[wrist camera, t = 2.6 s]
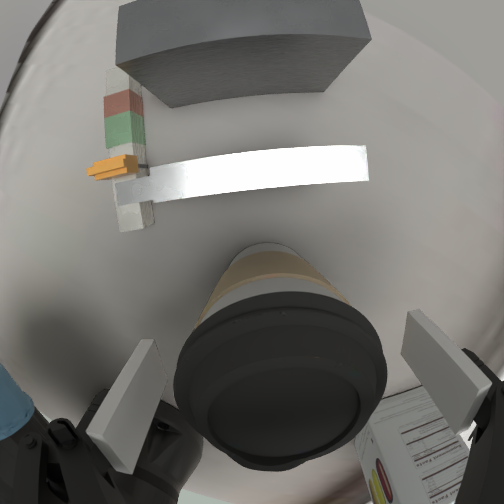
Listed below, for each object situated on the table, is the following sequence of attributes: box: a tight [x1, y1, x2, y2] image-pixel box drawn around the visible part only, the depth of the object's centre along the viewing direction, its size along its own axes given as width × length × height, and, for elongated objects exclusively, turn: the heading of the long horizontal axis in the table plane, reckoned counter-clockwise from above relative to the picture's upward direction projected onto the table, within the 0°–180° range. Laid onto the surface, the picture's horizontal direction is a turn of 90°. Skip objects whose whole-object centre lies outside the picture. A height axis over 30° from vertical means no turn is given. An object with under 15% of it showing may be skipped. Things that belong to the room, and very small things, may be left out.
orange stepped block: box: [86, 154, 139, 180], centre depth 16 cm, size 3×1×3 cm, turn 96°
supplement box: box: [355, 386, 470, 504], centre depth 20 cm, size 10×9×17 cm
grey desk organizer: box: [104, 0, 372, 232], centre depth 15 cm, size 17×13×10 cm
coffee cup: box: [173, 243, 387, 471], centre depth 16 cm, size 9×9×15 cm
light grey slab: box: [115, 145, 369, 206], centre depth 16 cm, size 14×2×10 cm, turn 96°
